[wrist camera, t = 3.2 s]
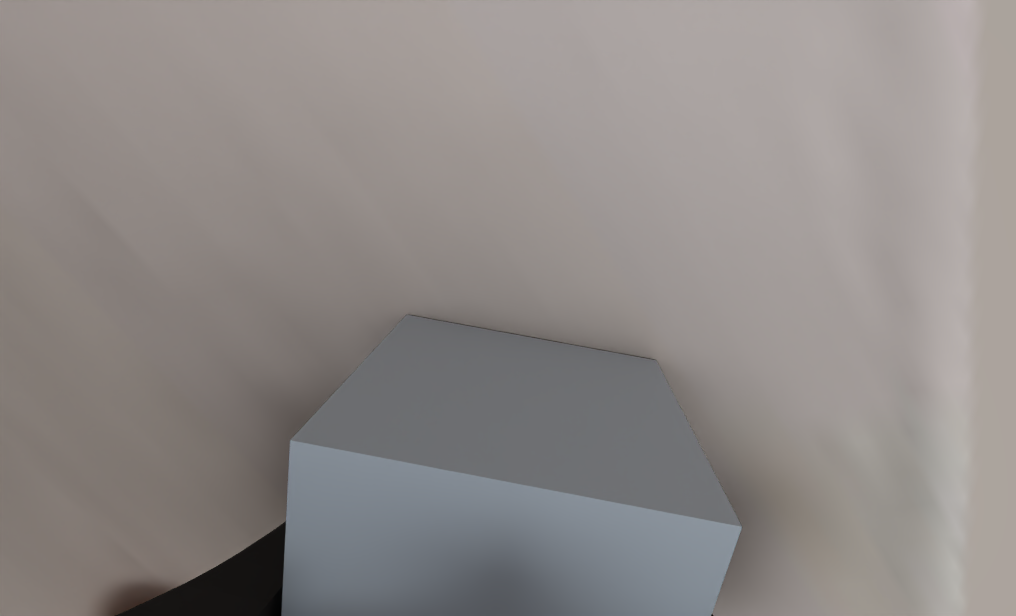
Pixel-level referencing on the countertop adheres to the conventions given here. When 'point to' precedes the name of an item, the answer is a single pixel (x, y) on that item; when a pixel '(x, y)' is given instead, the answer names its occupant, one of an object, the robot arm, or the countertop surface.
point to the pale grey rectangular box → (502, 486)
